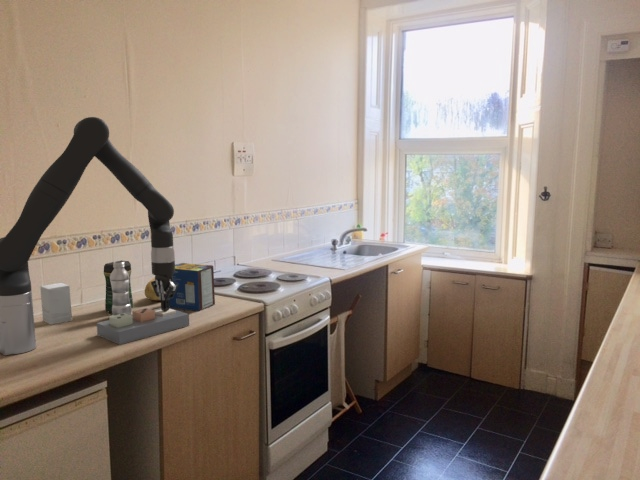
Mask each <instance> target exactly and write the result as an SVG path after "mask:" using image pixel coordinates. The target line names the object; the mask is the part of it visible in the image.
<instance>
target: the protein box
mask: <svg viewBox="0 0 640 480" xmlns="http://www.w3.org/2000/svg"><path fill="white" fill-rule="evenodd" d="M214 275H215V274H214V265H212V264H209V265H208V264H199V263H198V264H197V263H185V262H181V263H177V264H176V263H175V273H174V274H173V275H172V277H173V283H174V285H177V286H178V288H177V291H176V293H175V295H174V297H173V298H171V299H169V308H171V309H182V310H190V311H195V312H200V311H202V310H205V309H208V308H209V307H211V306H214V305H216V304H215V303H216V299H215V297H216V296H215V295H216V294H215V277H214Z"/></svg>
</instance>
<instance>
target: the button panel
mask: <svg viewBox="0 0 640 480" xmlns="http://www.w3.org/2000/svg"><path fill="white" fill-rule="evenodd" d="M169 309H172V310H176V313H175V314H171V315H167V316H160V315H157V314H155V319H151V320H147V321H143V322H139V321H137V320H134V319H133V314H130V316H132V322H133V324H131V325H127V326H123V327H119V328H116V327H114V326H111V325H110V321H109V319H108V320H104V321H100V322H96V332H97V336H99V337H101V338H103V339H105V340H108V341H110V342H112V343H115V344H117V345H120V346H121V345H124V344H127V343H131V342H135V341H138V340H142V339H145V338H146V339H147V338H151V337H153V336H157V335H160V334H164V333H167V332H171V331H174V330H178V328H179V329H182V327H183V328H185V326H186V327H189V326H190V314H189V313H186V312H184V311H180V310H178V309H175V308H171V307H169ZM153 310H154V311H157V310H161V307H159V308H155V309H153Z"/></svg>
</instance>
